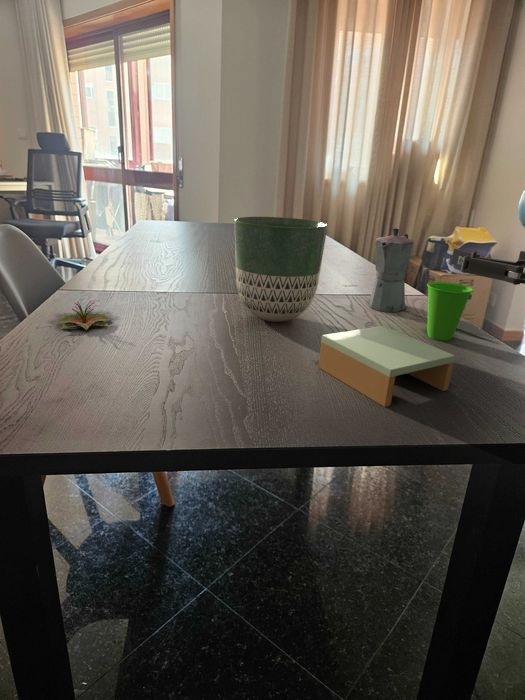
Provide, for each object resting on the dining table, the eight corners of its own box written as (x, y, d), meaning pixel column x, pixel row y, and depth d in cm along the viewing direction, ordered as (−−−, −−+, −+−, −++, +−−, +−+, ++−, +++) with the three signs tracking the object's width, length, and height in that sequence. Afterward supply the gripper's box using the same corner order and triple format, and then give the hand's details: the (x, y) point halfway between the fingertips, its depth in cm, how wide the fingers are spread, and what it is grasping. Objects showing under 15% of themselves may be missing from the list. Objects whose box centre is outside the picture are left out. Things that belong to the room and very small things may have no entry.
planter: (313, 337, 96) (324, 230, 88) (221, 326, 99) (224, 222, 91) (320, 311, 114) (329, 220, 106) (242, 303, 117) (245, 214, 109)
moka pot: (356, 309, 118) (367, 227, 110) (379, 298, 130) (390, 224, 122) (393, 317, 113) (407, 232, 106) (413, 305, 125) (427, 228, 118)
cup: (452, 347, 95) (463, 294, 91) (410, 335, 100) (419, 285, 96) (468, 337, 101) (479, 288, 97) (428, 327, 107) (437, 279, 103)
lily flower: (54, 316, 99) (51, 295, 97) (113, 313, 103) (112, 293, 101) (52, 335, 88) (49, 312, 87) (118, 331, 93) (116, 308, 91)
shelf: (447, 390, 75) (455, 355, 73) (384, 407, 68) (391, 369, 66) (377, 355, 88) (382, 325, 86) (318, 367, 81) (321, 334, 79)
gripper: (498, 309, 65) (421, 276, 84) (645, 310, 70) (541, 279, 89) (511, 255, 62) (429, 233, 81) (664, 260, 67) (552, 239, 86)
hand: (487, 257), depth 85 cm, fingers open, 13 cm apart
